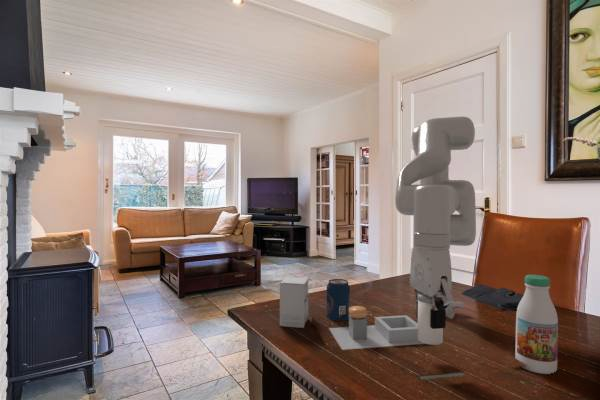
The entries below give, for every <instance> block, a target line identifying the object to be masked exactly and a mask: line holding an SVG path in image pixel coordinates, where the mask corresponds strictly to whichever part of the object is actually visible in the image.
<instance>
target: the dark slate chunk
mask: <svg viewBox="0 0 600 400" xmlns="http://www.w3.org/2000/svg"><path fill="white" fill-rule="evenodd" d="M461 295H463V296H464V297H465V296H466V297H468V298H470V299H472V300H475V301H478V302H479V303H483V304H485V305H487V306H489V305H490V306H489V307H492V308H495V309H497V310H500V311H506V312H513V311H514V312H517V311H516V310H517V308H518V305H519V303H520V301H521V299H522V297H523V296H524V293H520V292H517V293H516V291H514V290H512V289H508V288H506V287H500V288H498V289H497V288H494V287H491V286H489V285H483V284H477V285H475V286H473V287H471V288H469V289H465V290H464V291H462V292H461Z"/></svg>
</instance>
